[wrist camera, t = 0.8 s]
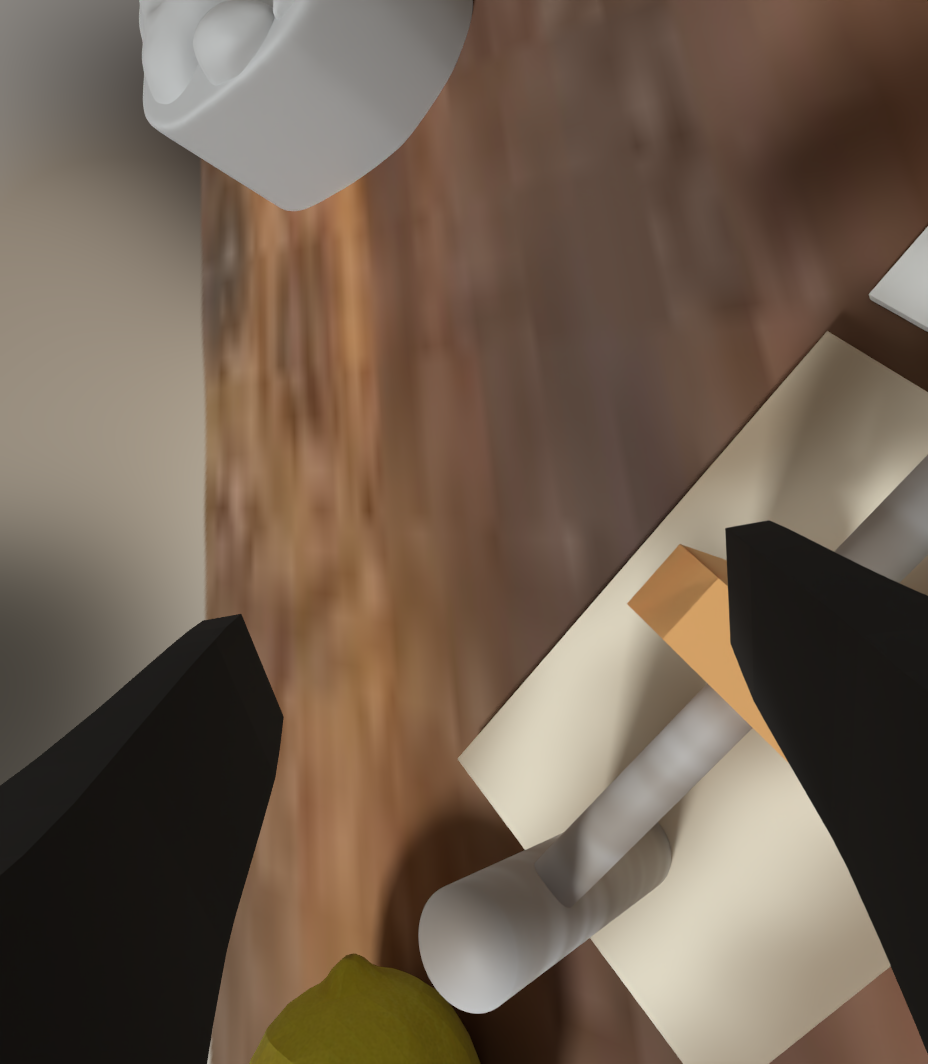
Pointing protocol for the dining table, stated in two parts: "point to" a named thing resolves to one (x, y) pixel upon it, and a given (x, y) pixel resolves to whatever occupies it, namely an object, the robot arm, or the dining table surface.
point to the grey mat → (907, 285)
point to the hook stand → (692, 761)
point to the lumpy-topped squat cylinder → (296, 84)
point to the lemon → (367, 1022)
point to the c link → (699, 625)
